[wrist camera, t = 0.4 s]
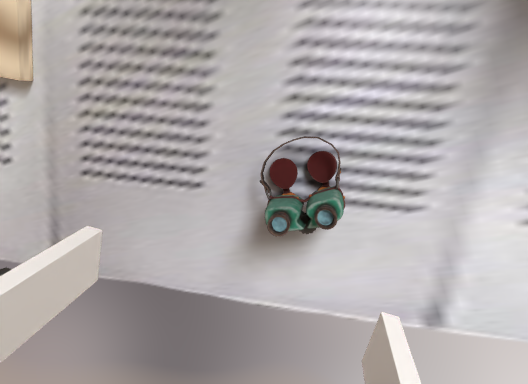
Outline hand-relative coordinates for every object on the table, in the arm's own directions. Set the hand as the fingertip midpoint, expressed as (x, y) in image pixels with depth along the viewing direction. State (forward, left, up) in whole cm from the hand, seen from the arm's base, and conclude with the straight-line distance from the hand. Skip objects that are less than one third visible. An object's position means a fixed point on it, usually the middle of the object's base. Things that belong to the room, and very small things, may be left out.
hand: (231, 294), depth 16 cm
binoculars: (0, +2, -28) cm, 28 cm away
